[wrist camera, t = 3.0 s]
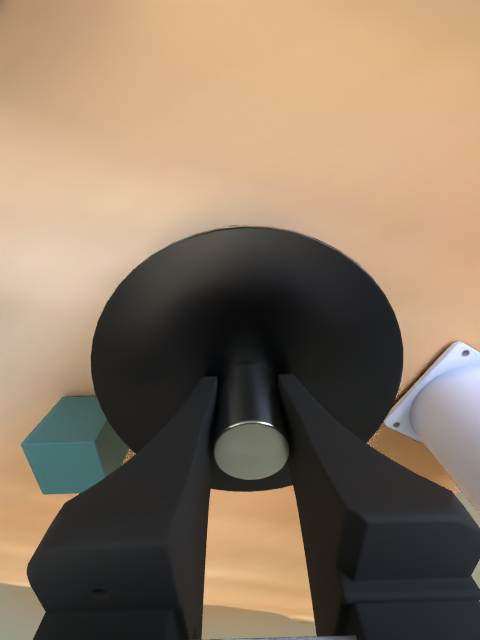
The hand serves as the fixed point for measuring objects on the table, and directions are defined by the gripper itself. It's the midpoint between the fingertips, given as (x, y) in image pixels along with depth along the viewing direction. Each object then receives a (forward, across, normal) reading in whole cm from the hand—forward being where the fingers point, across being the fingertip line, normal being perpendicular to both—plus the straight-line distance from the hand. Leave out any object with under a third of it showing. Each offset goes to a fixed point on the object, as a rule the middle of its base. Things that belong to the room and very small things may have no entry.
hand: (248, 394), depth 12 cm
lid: (+1, 0, 0) cm, 1 cm away
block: (+7, +11, +7) cm, 15 cm away
